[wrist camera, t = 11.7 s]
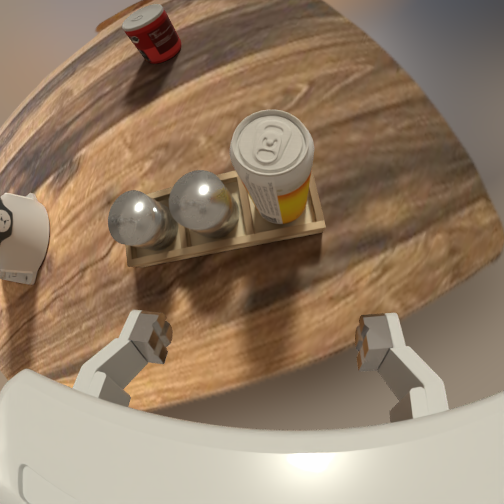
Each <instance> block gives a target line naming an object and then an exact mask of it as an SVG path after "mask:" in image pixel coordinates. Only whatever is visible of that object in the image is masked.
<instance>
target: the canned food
mask: <svg viewBox="0 0 504 504" xmlns="http://www.w3.org/2000/svg"><path fill="white" fill-rule="evenodd" d="M122 28H123V30H124V31H125V33H126V34H127V36H128V37H129V38H130V40H131V41H132V42H133V44H134V45H135V46H136V48H137V49H138V50H139V52H140V53H141V54H142V56H143V57H144V59H145V60H146V61H148V62H149V63H154V64H155V63H161V62H164V61H167V60H169V59H170V58H172V57H173V56H175V55H176V54H177V53H178V52H179V50H180V48H181V40H180V38H179V36H178V35H177V33H176V31H175V29H174V27H173V25H172V23H171V21H170V19H169V17H168V15H167V14H166V12H165V10H164V8H163V7H162V6H161V5H159V4H154V5H149V6H146V7H144V8H141V9H139V10H137V11H136V12H134V13H133V14H131V15H130V16H129V17H128V18H127V19H126V20H125V21H124V22H123V24H122Z"/></svg>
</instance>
